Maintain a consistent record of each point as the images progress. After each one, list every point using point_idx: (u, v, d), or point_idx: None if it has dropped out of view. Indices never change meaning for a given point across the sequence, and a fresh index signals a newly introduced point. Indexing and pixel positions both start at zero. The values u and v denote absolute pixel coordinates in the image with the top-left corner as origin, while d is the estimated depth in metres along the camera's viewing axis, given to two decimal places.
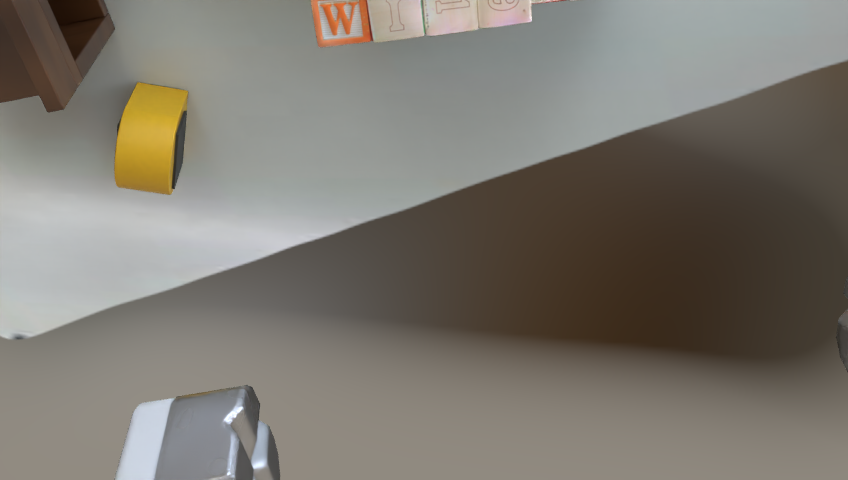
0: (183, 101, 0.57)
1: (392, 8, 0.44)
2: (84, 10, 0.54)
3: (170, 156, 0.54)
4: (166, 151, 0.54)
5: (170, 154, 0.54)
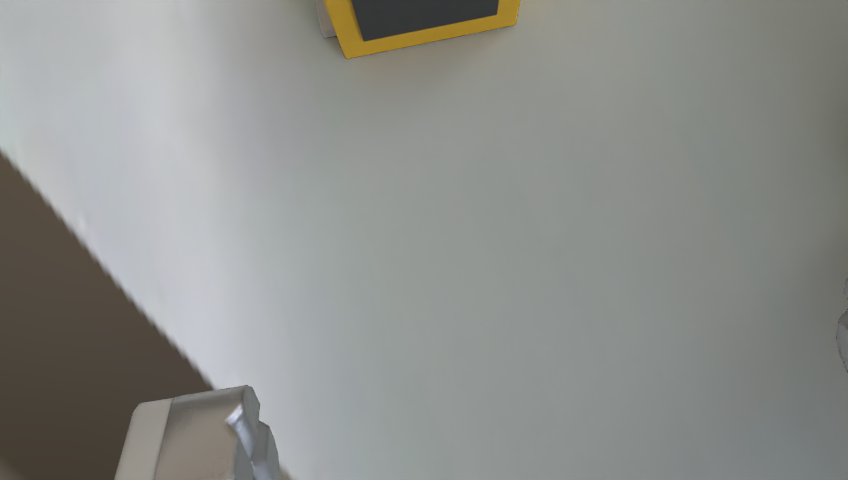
0: (519, 0, 0.26)
1: None
2: None
3: None
4: None
5: None
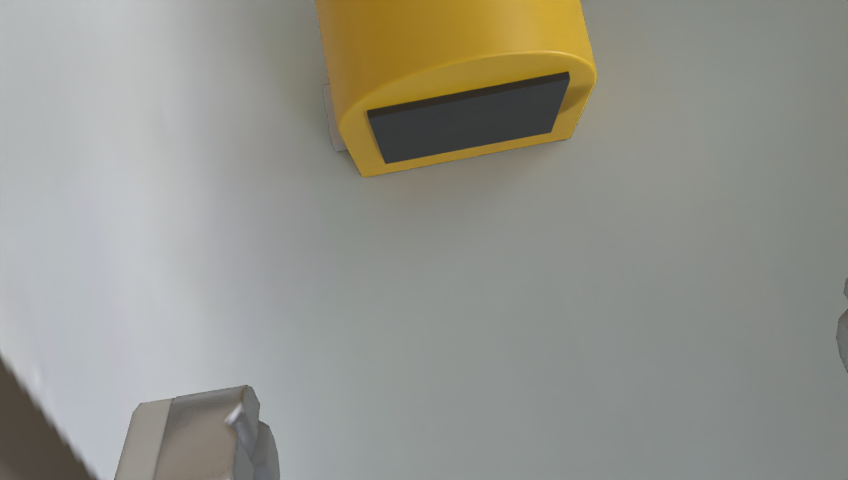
0: (579, 115, 0.21)
1: None
2: None
3: (528, 51, 0.16)
4: (539, 36, 0.16)
5: (534, 50, 0.16)
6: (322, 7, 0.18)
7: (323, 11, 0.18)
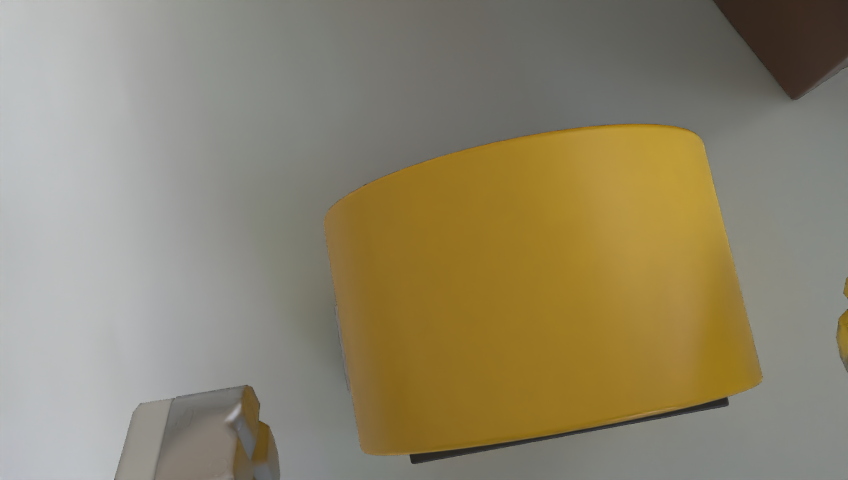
0: None
1: None
2: None
3: (682, 403, 0.09)
4: (698, 374, 0.10)
5: (691, 400, 0.10)
6: (339, 274, 0.12)
7: (340, 281, 0.11)
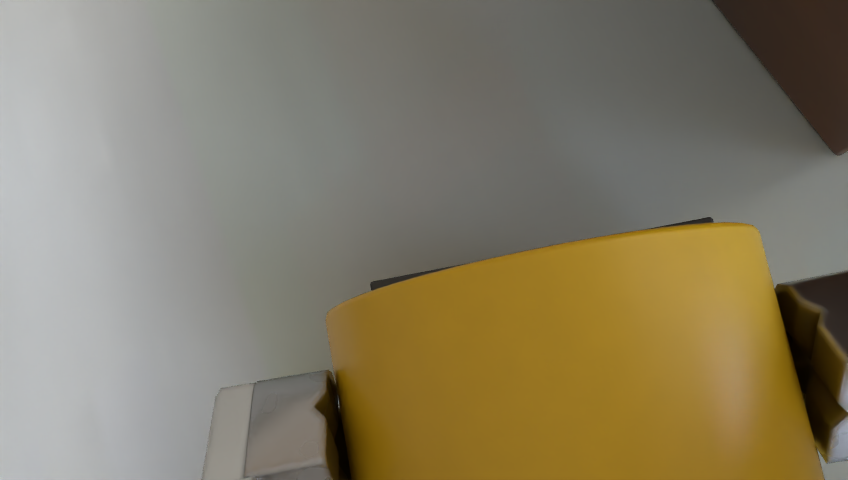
0: None
1: None
2: None
3: None
4: None
5: None
6: (343, 385, 0.10)
7: (345, 393, 0.10)
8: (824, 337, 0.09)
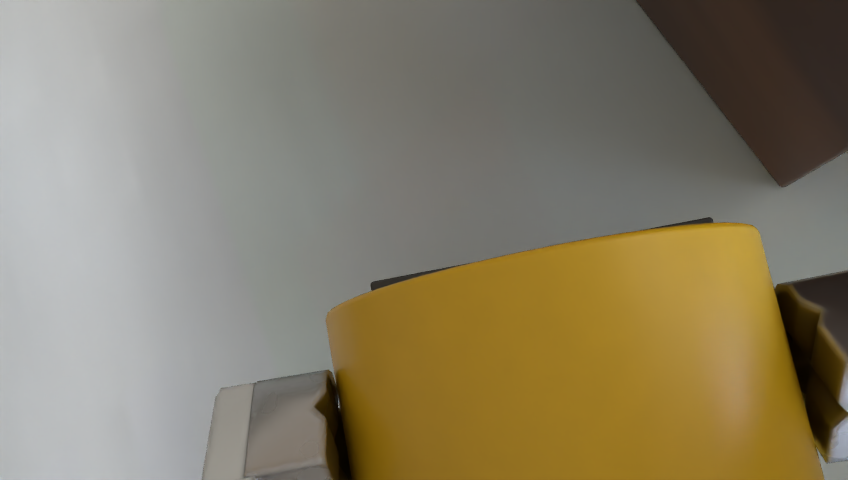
0: None
1: None
2: None
3: None
4: None
5: None
6: (343, 385, 0.10)
7: (345, 394, 0.10)
8: (824, 337, 0.09)
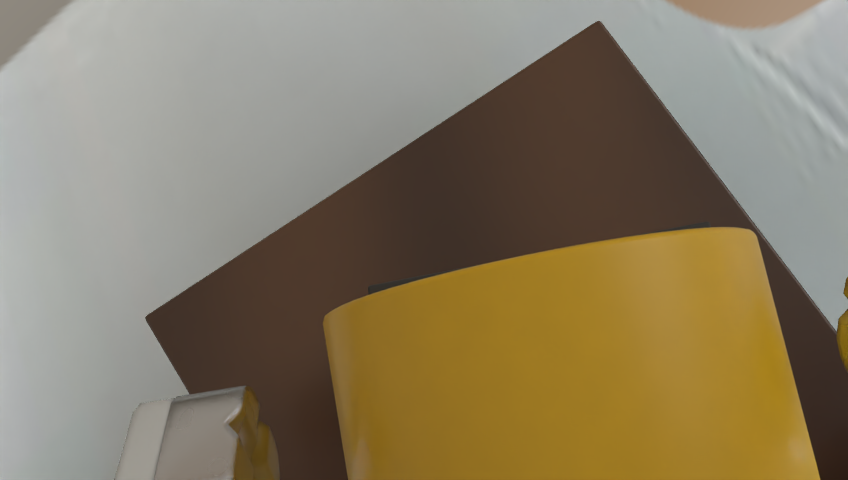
0: None
1: None
2: None
3: None
4: None
5: None
6: (340, 389, 0.10)
7: (342, 397, 0.10)
8: None
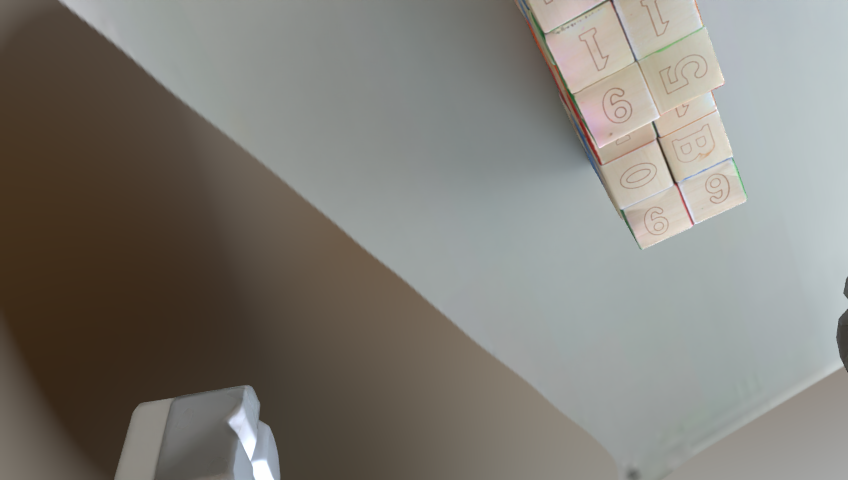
0: None
1: None
2: None
3: None
4: None
5: None
6: None
7: None
8: None
